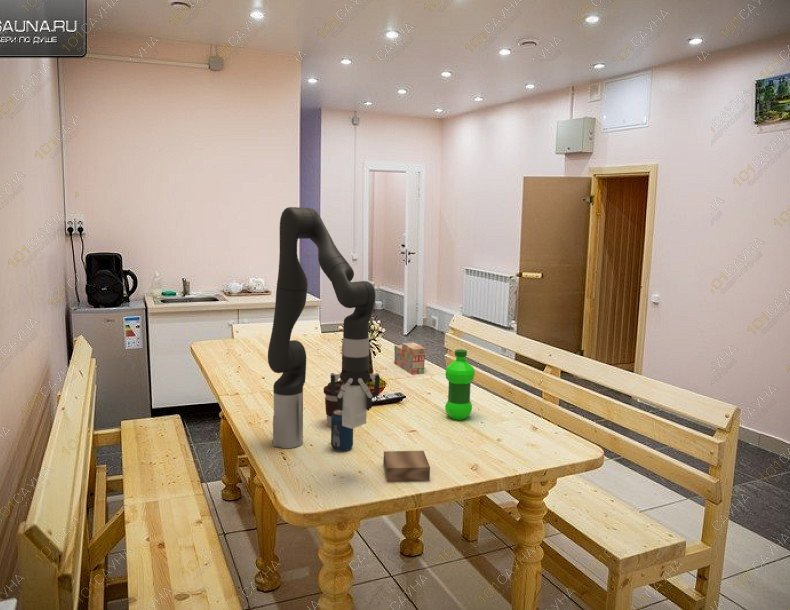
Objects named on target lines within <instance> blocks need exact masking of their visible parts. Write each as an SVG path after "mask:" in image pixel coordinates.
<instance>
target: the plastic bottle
mask: <svg viewBox="0 0 790 610" xmlns="http://www.w3.org/2000/svg"><path fill="white" fill-rule="evenodd" d="M467 355H468V350H467V349H455V350H454V356H455V360H454V361H452V362H451V363H450V364H449V365H448V366H447V367H446V370H445V379H446V380H447V381H448V394H447V395H448V397H447V402H446V403H445V406H444V408H445V409H444V410H445V413H446V414H447V415H448V416H450V418H451V419H453V420H457V421H461V420H465V419H466V418H467V417H469V416H470V414H471V413H472V410H473V404H472V402H471V387H472V386H471V383H472V381H473V380H474V378H475V375H476V374H475V373H476V372H475V368H474V366H472V365H471V364H470V363H469V362H468V361H467V360H466V357H467Z"/></svg>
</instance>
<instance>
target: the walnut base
mask: <svg viewBox="0 0 790 610" xmlns="http://www.w3.org/2000/svg"><path fill="white" fill-rule="evenodd" d="M382 461H383V469H384V474H385V477H386V478H385V479H386V482H387V483H389V482H390V483H393V482H394V483H395V482H425V481H426V482H427V481H430V479H431V478H430V477H431V466H430V463H429V461H428V458H427V455H426V453H425V451H424V450H390V451H388V450H387V451H385V450H383V460H382Z"/></svg>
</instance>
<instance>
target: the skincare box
mask: <svg viewBox="0 0 790 610" xmlns="http://www.w3.org/2000/svg"><path fill="white" fill-rule="evenodd" d="M343 386H344V385H342V387H343ZM366 386H368V383H366ZM345 388H346V392H344V394H343V396H342V426H345V427H348V428H351V429H353V430H354V429H355V428H358V427H361V426H364V425H366V424H367V412H368V411H367V394H366V393H365V391H364V390H363V388H362V387H361V385H350V386H346V387H345Z"/></svg>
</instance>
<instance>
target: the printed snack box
mask: <svg viewBox="0 0 790 610" xmlns="http://www.w3.org/2000/svg"><path fill="white" fill-rule="evenodd" d="M393 347H394V349H393V350H394V351H393V352H394V357H393V358H394V364H395V365H396V366H397V367H399V368H400V369H403V370H404V371H405V372H407V374H408V373H409V374H410V375H412V376H415V375H425V362H426V360H425V359H426V348H425V347H423V345H421V344H419V343H416V342H413V341H412V342H402V344H396V345H395V344H394V346H393Z"/></svg>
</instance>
